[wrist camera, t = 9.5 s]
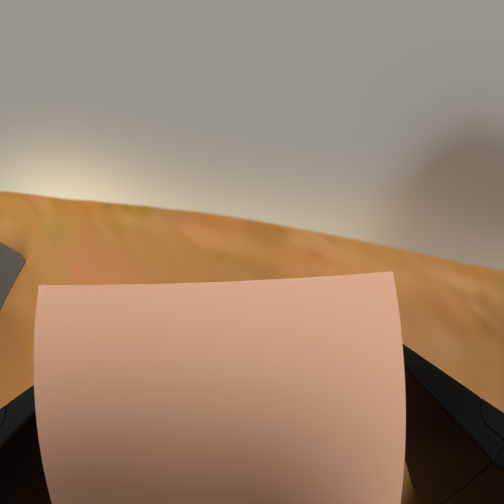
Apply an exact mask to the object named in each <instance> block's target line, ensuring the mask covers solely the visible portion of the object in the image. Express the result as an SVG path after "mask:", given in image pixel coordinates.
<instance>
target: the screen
mask: <svg viewBox="0 0 504 504" xmlns="http://www.w3.org/2000/svg"><path fill="white" fill-rule="evenodd" d="M24 263H25V260H24V259H23V258H22V257H21V256H20V254H19V253H17V252H16V251H14V250H12V249H11V248H9V247H7V246H6V245H4V244H3V243H1V242H0V309H1V307H2V304H3V302H4V300H5V298H6V296H7V294H8V292H9V291H10V289H11V287H12V285H13V283H14V281H15V279H16V277H17V276H18V274H19V272H20V270H21V268H22V267H23V265H24Z"/></svg>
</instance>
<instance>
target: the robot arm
mask: <svg viewBox="0 0 504 504" xmlns="http://www.w3.org/2000/svg"><path fill="white" fill-rule="evenodd" d="M403 356H404V371H405V393H406V440H405V461H406V464H407V468H408V471H409V475H410V479H411V482H412V486H413V490H414V493H415V497H416V501H417V504H504V413H503V412H501V411H500V410H498V409H497V408H495V407H494V406H492V405H491V404H489V403H488V402H486V401H485V400H484V399H482V398H481V399H480V397H479V396H478V395H476V394H475V393H473V392H472V391H470V390H469V389H468V388H466V387H465V386H463V385H462V384H460V383H459V382H457V381H456V380H455V379H453V378H452V377H450V376H449V375H447V374H446V373H444V372H443V371H442V370H440V369H439V368H437V367H436V366H434V365H433V364H431V363H430V362H428V361H427V360H426V359H424V358H423V357H421V356H420V355H418V354H417V353H415V352H414V351H412V350H411V349H409V348H408V347H407V346H405V345H404V344H403ZM0 504H52V502H51V499H50V495H49V491H48V487H47V482H46V478H45V473H44V468H43V463H42V458H41V452H40V445H39V438H38V430H37V421H36V410H35V396H34V385H33V386H32V387H30V388H29V389H27V390H26V391H25V392H23V393H22V394H20V395H19V396H18V397H16V398H15V399H14V400H12V401H11V402H9V403H8V404H7V405H5V406H4V407H3V408H1V409H0Z"/></svg>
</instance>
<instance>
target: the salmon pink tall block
mask: <svg viewBox="0 0 504 504" xmlns="http://www.w3.org/2000/svg"><path fill="white" fill-rule="evenodd" d="M34 396H35V410H36V421H37V430H38V438H39V445H40V452H41V458H42V463H43V468H44V473H45V478H46V482H47V487H48V491H49V495H50V499H51V502H52V504H401V495H402V486H403V475H404V462H405V440H406V393H405V371H404V356H403V344H402V334H401V324H400V316H399V308H398V301H397V294H396V287H395V281H394V275H393V271H392V272H380V273H367V274H353V275H339V276H324V277H308V278H291V279H272V280H252V281H230V282H204V283H174V284H131V285H39V289H38V297H37V306H36V318H35V333H34Z"/></svg>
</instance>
